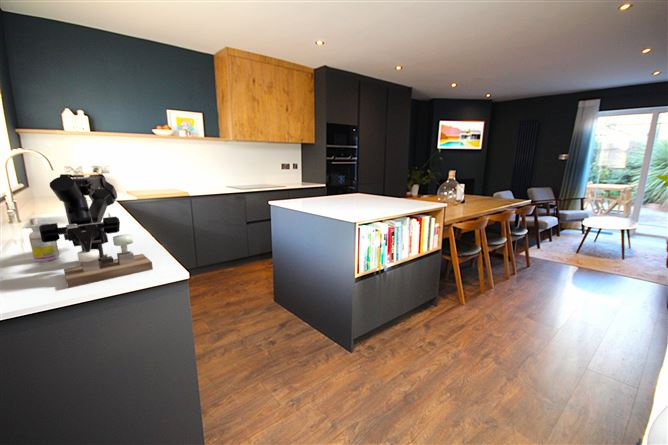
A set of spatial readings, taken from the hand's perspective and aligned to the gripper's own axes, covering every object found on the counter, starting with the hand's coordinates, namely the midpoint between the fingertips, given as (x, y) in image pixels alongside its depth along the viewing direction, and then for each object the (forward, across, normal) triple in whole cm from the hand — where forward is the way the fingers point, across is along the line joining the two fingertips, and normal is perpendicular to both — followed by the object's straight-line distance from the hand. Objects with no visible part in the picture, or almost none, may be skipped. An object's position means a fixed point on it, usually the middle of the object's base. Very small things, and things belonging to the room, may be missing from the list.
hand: (88, 251), depth 90 cm
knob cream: (+4, 0, -5) cm, 6 cm away
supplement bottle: (-18, +9, -30) cm, 36 cm away
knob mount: (+5, -5, -7) cm, 10 cm away
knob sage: (+1, -9, -3) cm, 10 cm away
